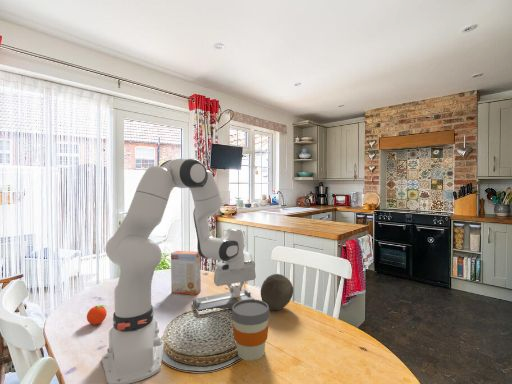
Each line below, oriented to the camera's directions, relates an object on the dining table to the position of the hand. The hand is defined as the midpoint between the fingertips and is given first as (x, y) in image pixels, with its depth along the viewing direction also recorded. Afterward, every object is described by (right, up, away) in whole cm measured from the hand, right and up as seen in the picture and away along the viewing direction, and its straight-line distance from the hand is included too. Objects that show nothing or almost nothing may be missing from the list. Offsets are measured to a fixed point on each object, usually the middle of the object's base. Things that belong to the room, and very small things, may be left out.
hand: (235, 291), depth 126 cm
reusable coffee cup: (+8, -6, -38) cm, 39 cm away
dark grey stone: (+19, -5, -8) cm, 21 cm away
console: (-5, -5, -3) cm, 8 cm away
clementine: (-54, -6, -19) cm, 58 cm away
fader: (0, -2, 0) cm, 2 cm away
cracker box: (-27, -5, +12) cm, 29 cm away
